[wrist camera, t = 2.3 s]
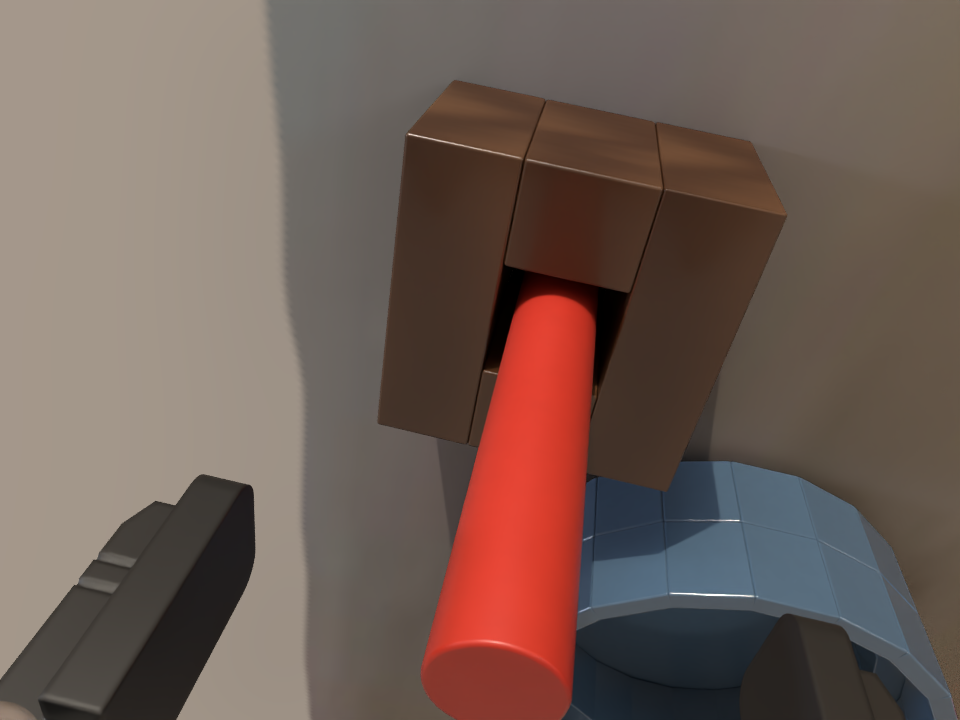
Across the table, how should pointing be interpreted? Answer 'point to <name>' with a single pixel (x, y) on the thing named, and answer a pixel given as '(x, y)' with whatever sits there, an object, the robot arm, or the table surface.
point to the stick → (522, 522)
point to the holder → (572, 264)
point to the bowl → (732, 593)
